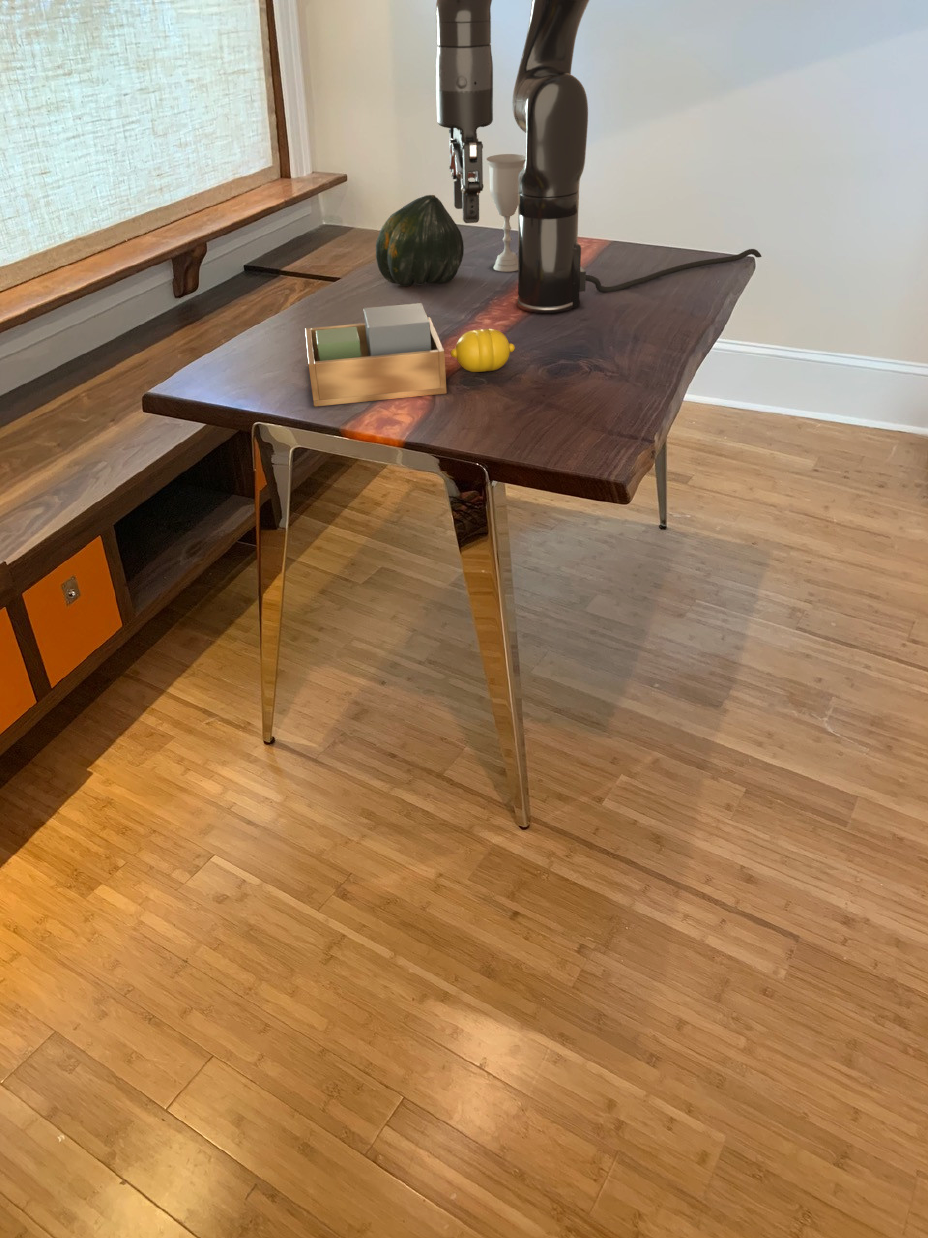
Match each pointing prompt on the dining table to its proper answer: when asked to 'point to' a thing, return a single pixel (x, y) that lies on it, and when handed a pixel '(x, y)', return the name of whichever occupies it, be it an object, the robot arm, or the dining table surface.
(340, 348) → the block sage
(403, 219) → the squash
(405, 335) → the block grey
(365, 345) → the crate
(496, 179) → the chalice
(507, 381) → the dining table surface
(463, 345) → the lemon
